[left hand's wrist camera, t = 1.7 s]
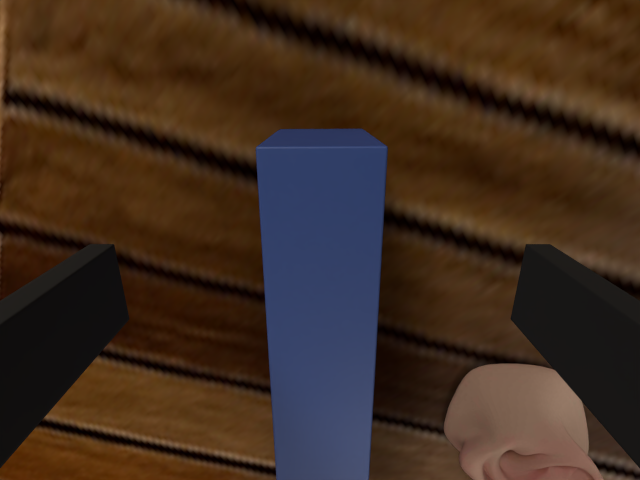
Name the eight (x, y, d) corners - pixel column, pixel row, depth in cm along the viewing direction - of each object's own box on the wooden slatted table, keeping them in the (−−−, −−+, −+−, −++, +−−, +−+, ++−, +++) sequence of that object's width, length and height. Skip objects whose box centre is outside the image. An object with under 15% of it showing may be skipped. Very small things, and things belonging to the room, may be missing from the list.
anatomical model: (453, 412, 25) (632, 383, 24) (435, 372, 29) (590, 345, 28) (468, 541, 30) (620, 519, 29) (452, 491, 33) (585, 471, 33)
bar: (278, 129, 23) (255, 146, 14) (363, 128, 23) (388, 145, 14) (292, 470, 33) (283, 596, 24) (351, 470, 33) (362, 596, 24)
